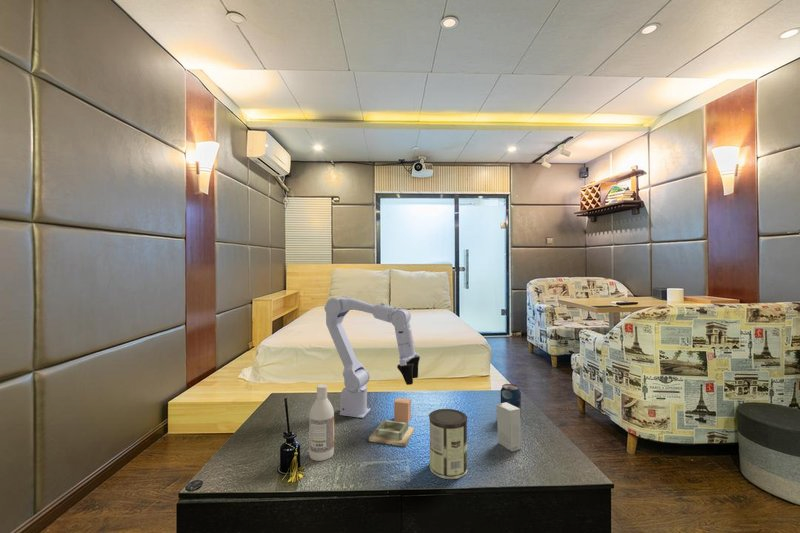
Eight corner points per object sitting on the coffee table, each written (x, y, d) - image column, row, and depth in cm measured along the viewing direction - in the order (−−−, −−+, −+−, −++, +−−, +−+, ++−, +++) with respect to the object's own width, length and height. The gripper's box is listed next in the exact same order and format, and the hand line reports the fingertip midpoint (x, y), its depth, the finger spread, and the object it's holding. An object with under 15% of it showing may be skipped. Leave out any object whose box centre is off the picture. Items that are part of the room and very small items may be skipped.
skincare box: (522, 449, 103) (522, 408, 103) (510, 452, 101) (510, 411, 101) (507, 439, 109) (507, 401, 109) (496, 443, 107) (496, 403, 107)
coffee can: (446, 453, 101) (446, 405, 101) (475, 469, 93) (475, 416, 93) (421, 467, 94) (421, 415, 94) (450, 485, 86) (450, 428, 86)
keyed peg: (394, 421, 122) (394, 401, 122) (397, 417, 126) (397, 397, 126) (407, 423, 120) (407, 403, 120) (410, 418, 124) (410, 399, 124)
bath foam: (335, 459, 98) (336, 388, 98) (310, 463, 95) (310, 391, 95) (331, 447, 104) (332, 380, 104) (308, 451, 102) (308, 383, 102)
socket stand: (368, 441, 108) (368, 431, 108) (380, 425, 118) (380, 417, 118) (405, 446, 104) (405, 436, 104) (414, 430, 115) (414, 421, 115)
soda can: (509, 426, 118) (509, 391, 119) (496, 418, 125) (496, 384, 125) (525, 422, 121) (525, 388, 121) (511, 414, 128) (511, 382, 128)
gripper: (410, 345, 115) (418, 386, 114) (420, 337, 129) (427, 373, 128) (391, 348, 117) (398, 388, 116) (402, 340, 131) (409, 376, 130)
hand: (412, 381), depth 122 cm, fingers open, 7 cm apart
